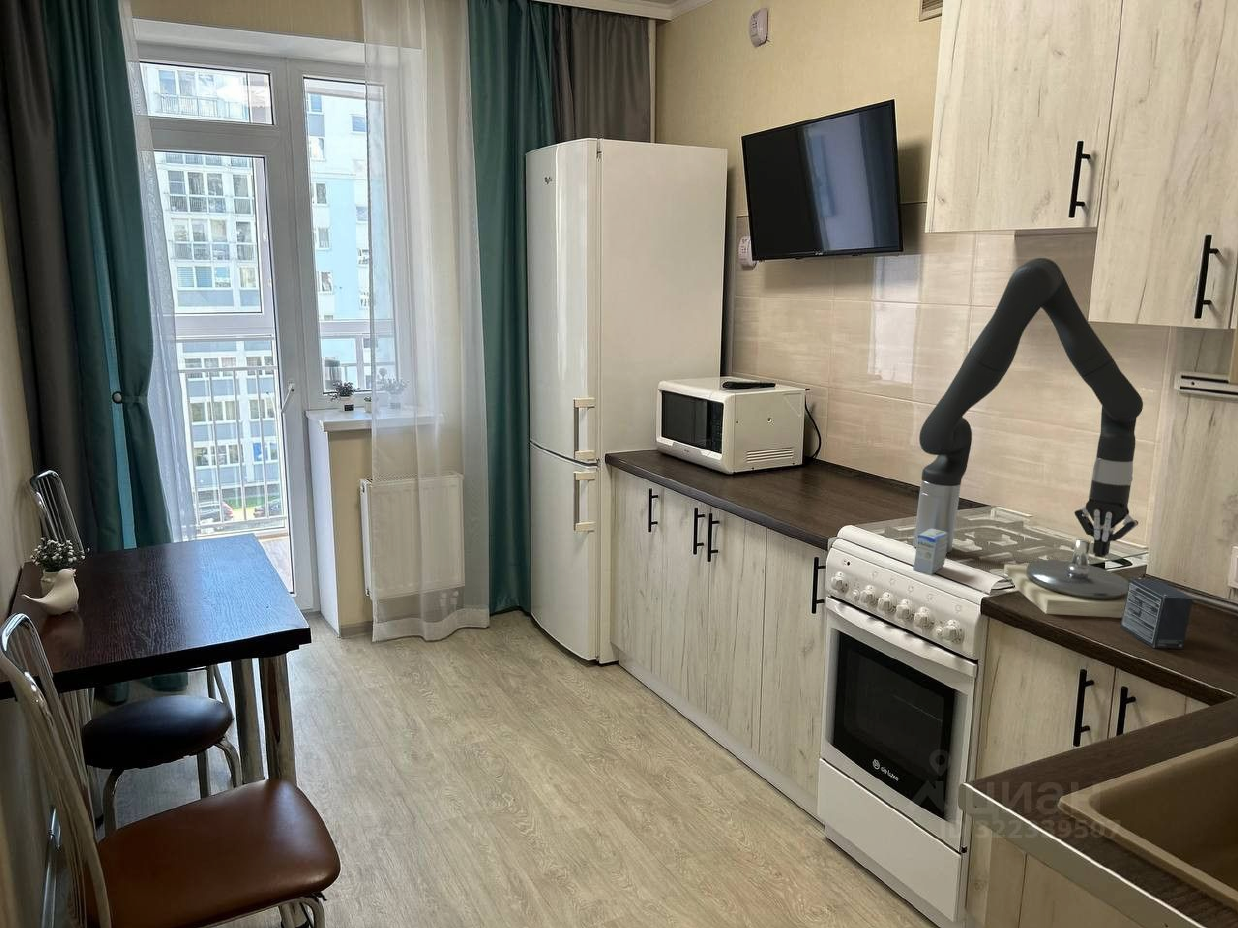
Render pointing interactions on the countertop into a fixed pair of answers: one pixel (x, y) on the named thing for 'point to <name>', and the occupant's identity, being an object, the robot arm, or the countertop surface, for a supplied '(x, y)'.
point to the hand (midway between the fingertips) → (1100, 556)
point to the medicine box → (930, 551)
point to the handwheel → (1078, 576)
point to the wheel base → (1062, 598)
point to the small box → (1156, 613)
